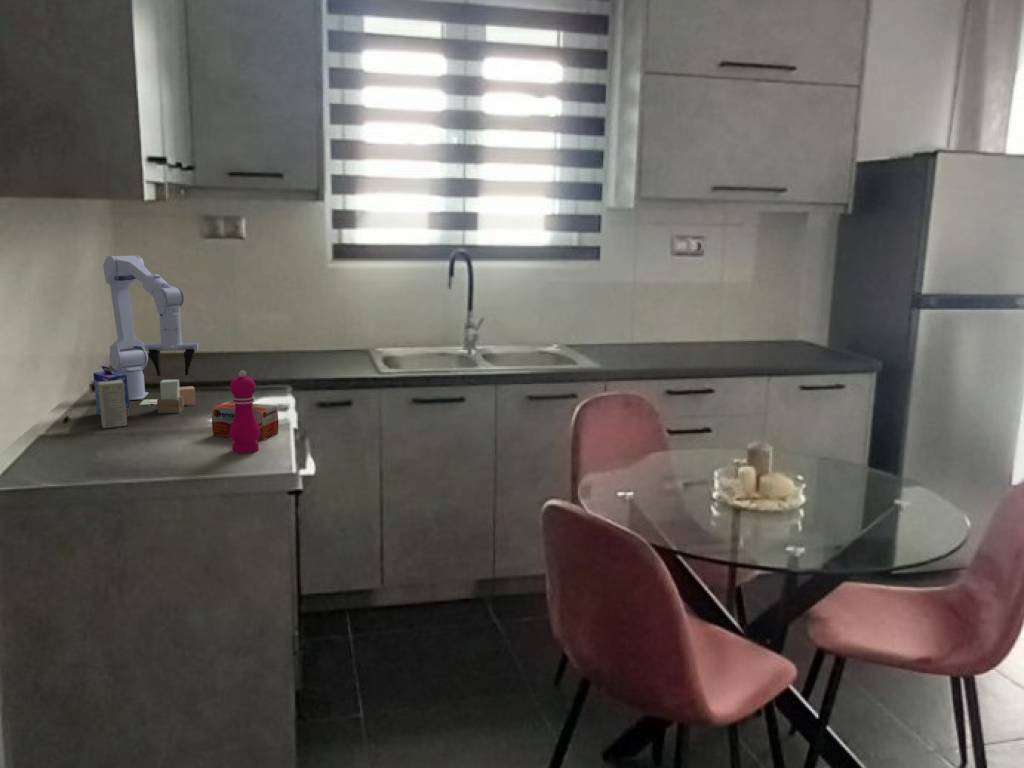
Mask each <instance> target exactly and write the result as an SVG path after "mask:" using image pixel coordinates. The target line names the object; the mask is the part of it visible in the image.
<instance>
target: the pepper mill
mask: <svg viewBox="0 0 1024 768" xmlns="http://www.w3.org/2000/svg"><path fill="white" fill-rule="evenodd" d="M256 389H257V385H256V382H255V381H254V379H252V377H249V376H247V371H245V370H244V369H243V370H240V371H239V372H238V377H236V378H234V379H233V380H231V382H230V385H229V390H230V392H231V394H232V395H233V397H232V399H233V400H232V402H233V403H235V415H234V419H233V422H232V424H231V427H230V437H229V438H230V439H231V440H232V441H233V443H232V444H231V447H232V450H231V451H232V453H236V454H241V453H245V454H250V453H249V452H253V453H255V452H254V451H256V452H258V451H259V449H260V446H259V445H260V444H259V442H258V440H257V439H258V438H259V436H260V428H259V425H258V423H257V421H256V419H255V417H254V414H253V408H252V405H253V404H254V402H255V400H254V399H255V396H254V394H255V393H256ZM257 450H258V451H257Z"/></svg>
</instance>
